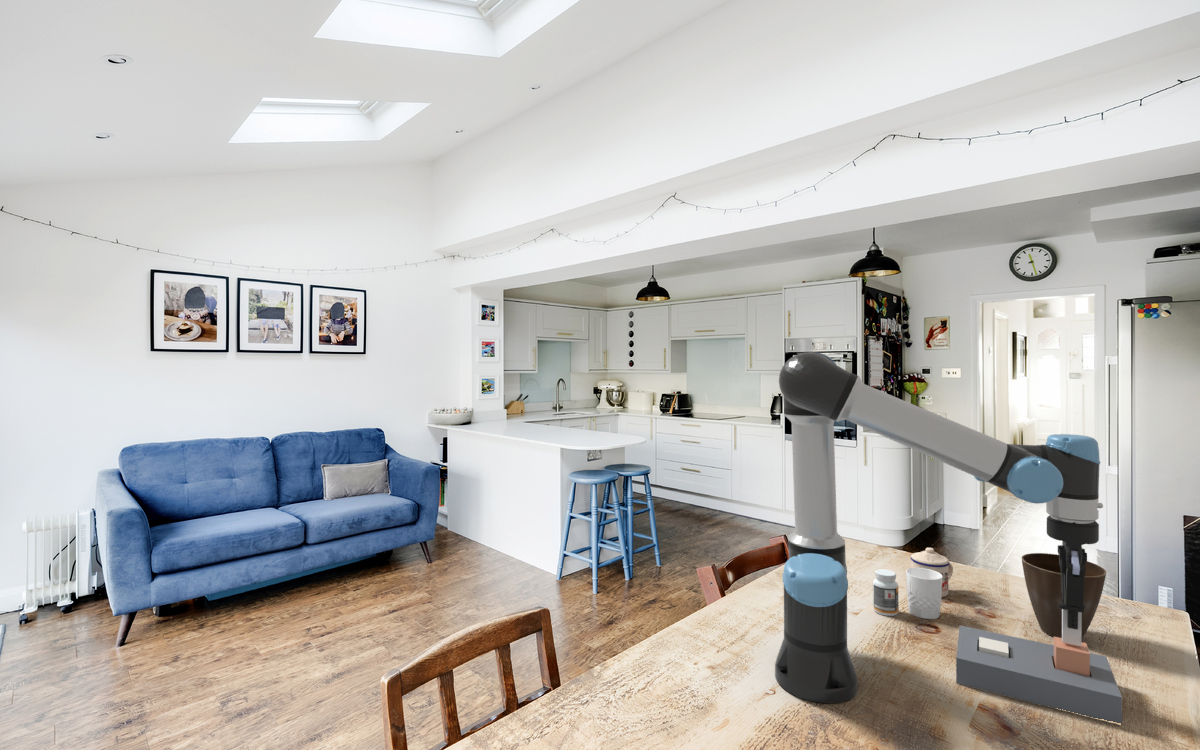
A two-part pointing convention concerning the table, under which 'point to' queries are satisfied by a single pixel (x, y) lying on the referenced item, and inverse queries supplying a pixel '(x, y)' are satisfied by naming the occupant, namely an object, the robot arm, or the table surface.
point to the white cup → (924, 592)
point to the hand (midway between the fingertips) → (1071, 642)
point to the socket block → (1037, 676)
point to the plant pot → (1058, 591)
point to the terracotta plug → (1071, 657)
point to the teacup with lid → (934, 565)
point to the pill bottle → (885, 593)
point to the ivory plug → (993, 647)
